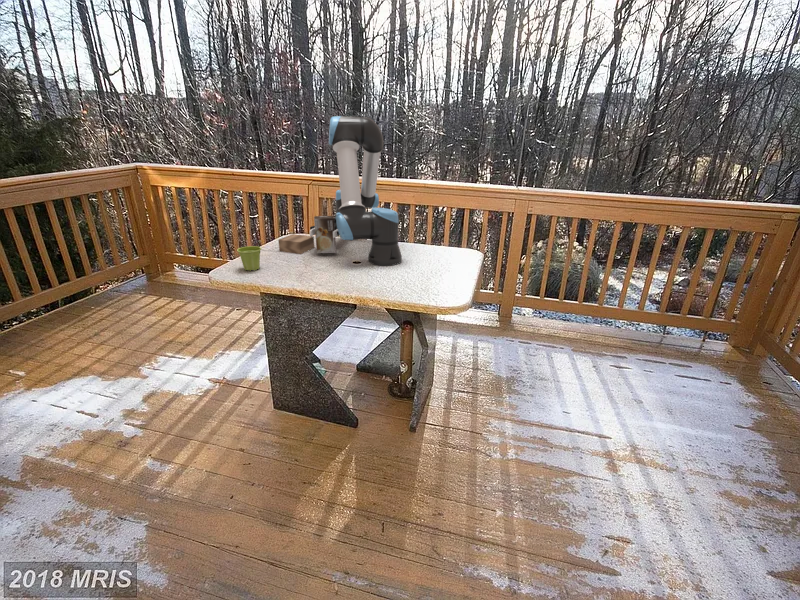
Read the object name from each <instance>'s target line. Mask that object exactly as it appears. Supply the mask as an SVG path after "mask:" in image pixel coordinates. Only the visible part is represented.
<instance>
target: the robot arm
mask: <svg viewBox="0 0 800 600" xmlns="http://www.w3.org/2000/svg"><path fill="white" fill-rule="evenodd" d="M328 145H329V146H332V150H333V152H334V153H336V157H337V158H336V159H337V168H338V169H337V171H338V179H339V181H338V182H339V189H337V190H336V191H335V206H336V207H335V209H336V213H335V216H334V225H335V231H333V238H335V239H336V238H337V237H338V236H339V237H340V239H341V240H344V241H354V240H357V241H358V240H360V241H361V240H371V247H370V250H369V253H368V256H367V257H368V263H370V264H372V265H375V264H376V266H383V265H388V266H393V265H392V264H395V265H398V264H397V263H399V262H400V263H401V262H402V261H403V258H402V257H403V256H402V252H401V250H400V247H399V223H400V221H399V213H398V212H397V211H396V210H394V209H391V208H387V207H379V204H380V198H379V194H378V193H376V192H377V183H378V181H377V180H378V173H379V165H380V158H381V156H380V155H381V153H382V152H383V149H384V136H383V132H382V130H381V128H380V127H379V125H378V124H377V123H376V122H375V121H374V120H373V119H372V118H370V117H368V116H367V117H366V116H344V115H343V116H342V115H338V116H337V115H336V116H331V117H330V120H329V131H328ZM360 146H361V147H362V149H363V159H362V173H361V181H360V172H359V163H358V155H357V154H358V150H359V149H360ZM360 182H361V183H360ZM360 184H361V185H360ZM366 209H371V210H370V211H367V210H366ZM309 236H313V237H314V236H316V235H315V225H312V226H310V227H309ZM400 263H399V264H400Z"/></svg>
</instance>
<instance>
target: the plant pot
mask: <svg viewBox="0 0 800 600" xmlns="http://www.w3.org/2000/svg"><path fill="white" fill-rule="evenodd" d="M236 251H237V252H238V255H240V257H239V258H240V260H241V263H242V266H243V269H245V270H244V271H246V270H248V271H249V272H250V271H251V270H254V271H258V270H259V269H260V268H261V267H260V265H261V264H260V262H261V261H260V259H261V251H262V247H260V246H254V245H253V246H252V245H248V246H242V247H238V248H237V249H236ZM257 269H258V270H257ZM251 272H252V271H251Z"/></svg>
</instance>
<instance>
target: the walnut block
mask: <svg viewBox="0 0 800 600" xmlns="http://www.w3.org/2000/svg"><path fill="white" fill-rule="evenodd" d="M278 248H279V252H281V253H289V254H297V255H302V254H304V253H306V252H308V250H309V251H310V250H313V249H315V237H314V235H313V236H310V235H302V234H294V233H292V234H291V235H287V236H285V237H282V238H279V239H278ZM312 248H313V249H312Z"/></svg>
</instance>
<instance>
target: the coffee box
mask: <svg viewBox="0 0 800 600" xmlns="http://www.w3.org/2000/svg"><path fill="white" fill-rule="evenodd" d="M334 217H335V216H334V215H314V217H313V219H314V220H313V222H314V223H313V224H314V226H315V235H314V236H315V246H316V253H317V254H325V253H328V254H329V253H337V242H336V237H335V238H333V231H335V225H334Z"/></svg>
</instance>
